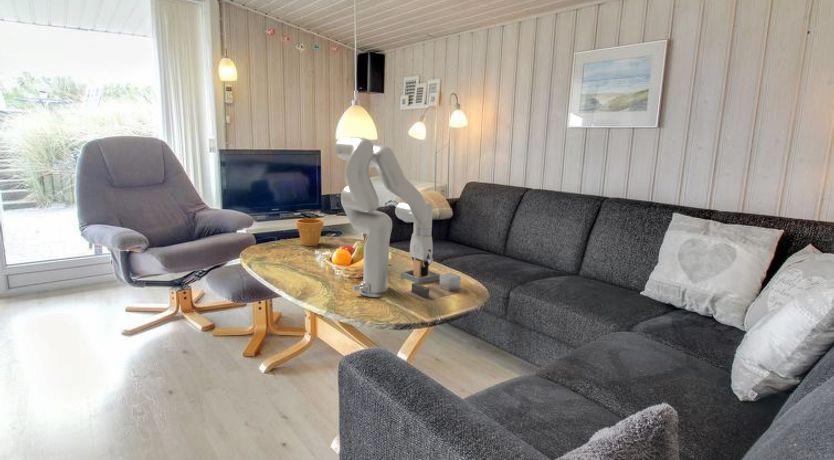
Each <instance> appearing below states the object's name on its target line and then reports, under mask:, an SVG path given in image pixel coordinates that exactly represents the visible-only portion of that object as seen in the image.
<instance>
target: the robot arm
mask: <svg viewBox="0 0 834 460" xmlns="http://www.w3.org/2000/svg"><path fill="white" fill-rule="evenodd" d="M334 151H335V155H336V156H337V157H338V158H339V159H340V160H342V161H344V162H347V164H346V167H345V170H344V179H345V182H346V186H345V187H344V188H343V189H342V191H341V194H340V202H341V206H342V207H343V210H344V213H345V215H346V216H347V219H348V221H349V223H350V224H351V226H352V228H353V229H354V230H355V231H356V232H358V233H361V234H363V235H367V237H366V240H365V242H364V245H363V273H362V274H363V277H362V278H363V280H361V281H360V283H359V284H356V285H352V286H351V289H352V291H353V292H354V291H358V293H359V294H360V295H362V296H364V297H368V298H382V297H383V298H384V296H383V295H381V294H380V293H384V292H387V291H388V290H389V263H390V262H389V259H390V256H389V254H390V241H391V240H390V239H391V233H392V230H393V220H392V218H391V217H390V216H389V215H388V214H387V213H386V212H382V211H379V210H377V209H378V207H379V205H380V199H379V196H378V194H377V190H376V189H375V187H374V185H373V182H372V180H371V177H370V174H369V168H375V171H377V174H378V176H379V177H380V179H381V182H382V183H383V185H384V188H385V189H386V190H388V192H390V193H392V194H393V195H395V196H397V197H398V198H399V199H401V200H402V201H401V202H400V203H398V204H397V205H396V207H395V210H394V213H395V216H396V217H397V218H398V219H399V220H401V221H405V222H411V223H413V227H412V228H413V232H412V234H411V239H410V243H409V256H410V257H411V259H412V263H413V264H414V259H419V260H422V266H423V267H421V276H426V277H428V276H427V275H428V266H429V267H430V265H431V264H432V263H434V259H433V252H434V249H433V247H434V246H433V237H432V231H433V229H432V228H433V203H432V202H430V201H425V198H424V196H423V195H422V194H421V192H420V191H419V190H418V189H417V188H416V187H415V186H414V185H413V184H412V183H411V182H410V181H409V180H408V179H407V177H406V176H405V174H404V172H403V170H402V168H401V165H400V163H399V162H398V160H397V157H396V155H395V153H394V151H393V149H392V148H391V147H389V146H388V145H382V144H373V142H372V140H370V139H369V138H365V137H357V136H355V137H353V136H344V137H341V138H339V139H338V140H337V141H336V143H335V145H334ZM425 261H426V262H425Z"/></svg>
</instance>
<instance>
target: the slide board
mask: <svg viewBox="0 0 834 460" xmlns="http://www.w3.org/2000/svg"><path fill="white" fill-rule="evenodd" d="M464 292H468V290H467V289H465V288H461V287H460V289H455V290H451V291H448V290H445V289H443V288H440V287H439V284H434V285H430V286H425V285H422V284H418V283H415V282H412V283H411V290H408V291H402V294H405V295H406V296H408V297H411V298H413V299H415V300H418V301H420V302H427V301H432V300H434V299H438V298H442V297H447V296H451V295H457V294H459V293H460V294H461V293H464Z"/></svg>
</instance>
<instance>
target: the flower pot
mask: <svg viewBox="0 0 834 460" xmlns="http://www.w3.org/2000/svg"><path fill="white" fill-rule="evenodd" d="M295 223H296V229H297V230H298V234H299V238H300V242H301V243H300V244H301V245H302V246H305V247H315V246H318V245H319V243H320V240H321V234H322V229H324V220H323V219H320V218H300V219H297V220H296V222H295Z"/></svg>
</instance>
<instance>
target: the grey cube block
mask: <svg viewBox="0 0 834 460" xmlns="http://www.w3.org/2000/svg"><path fill="white" fill-rule="evenodd" d="M461 280H462V276H461V275H458V274H456V273H452V272H447V273H442V274H440V280H439V284H438V285H439V287H440V288H443V289H445V290H448V291H451V290H455V289H460V288H461V282H462V281H461Z"/></svg>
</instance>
